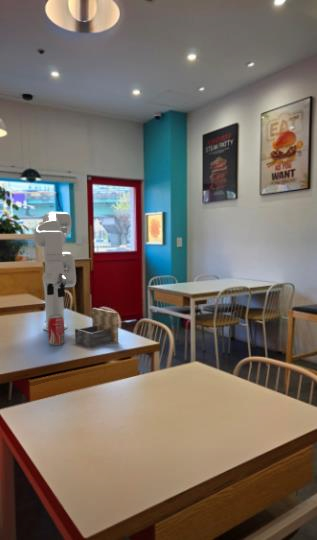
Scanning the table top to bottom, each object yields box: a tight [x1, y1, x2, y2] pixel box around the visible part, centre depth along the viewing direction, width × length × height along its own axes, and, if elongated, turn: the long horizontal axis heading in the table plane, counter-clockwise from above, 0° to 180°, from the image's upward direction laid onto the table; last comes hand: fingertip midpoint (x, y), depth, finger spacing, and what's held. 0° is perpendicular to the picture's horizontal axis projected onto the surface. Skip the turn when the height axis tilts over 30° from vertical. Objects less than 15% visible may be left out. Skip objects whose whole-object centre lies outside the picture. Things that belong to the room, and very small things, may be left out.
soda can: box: [47, 315, 66, 347], centre depth 174 cm, size 7×7×13 cm
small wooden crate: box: [74, 307, 119, 348], centre depth 176 cm, size 18×13×14 cm
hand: (55, 295), depth 172 cm, fingers open, 9 cm apart
